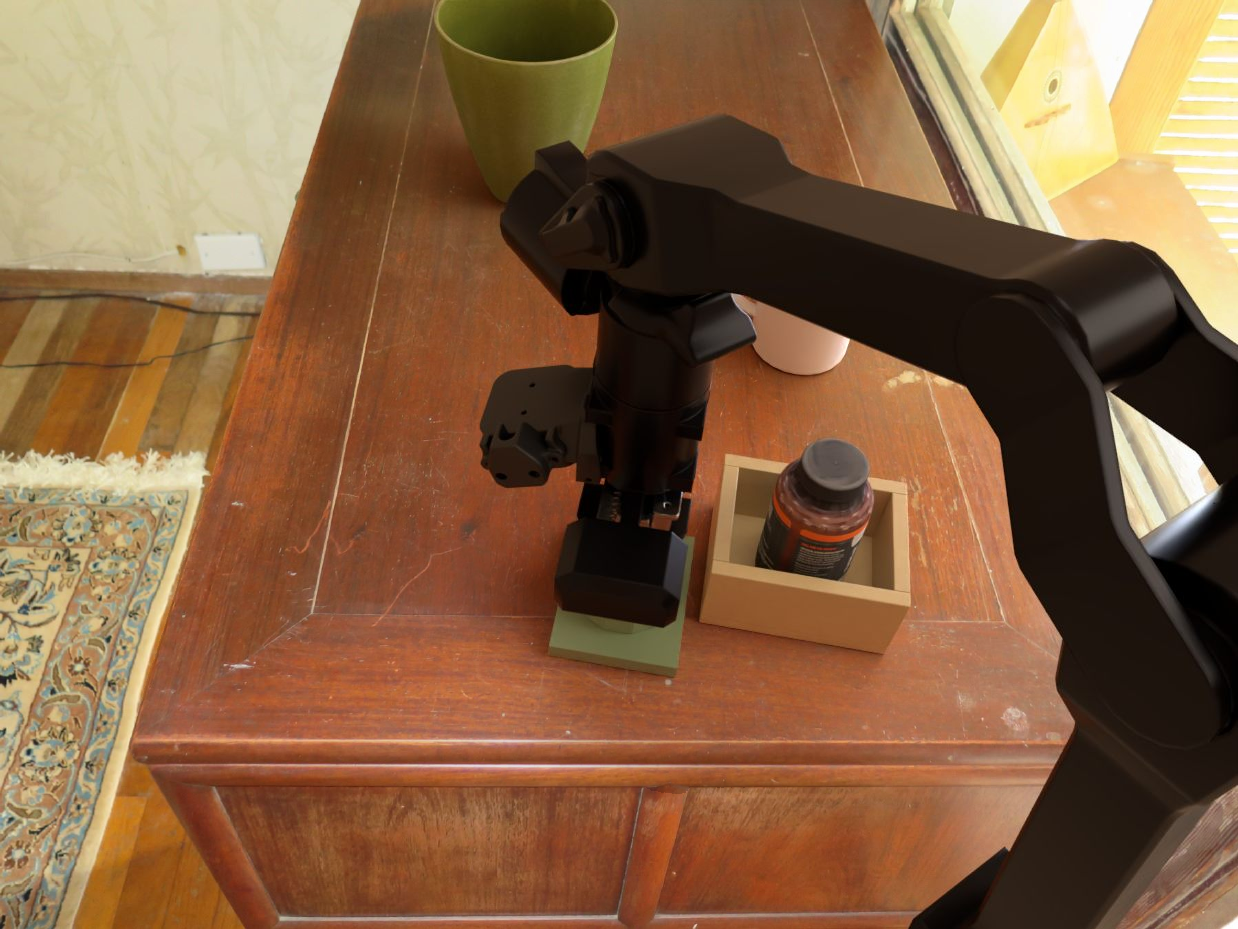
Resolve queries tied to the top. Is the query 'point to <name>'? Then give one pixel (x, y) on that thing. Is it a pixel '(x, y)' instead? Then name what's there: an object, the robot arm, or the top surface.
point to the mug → (792, 340)
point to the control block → (622, 637)
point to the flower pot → (524, 77)
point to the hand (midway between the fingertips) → (630, 550)
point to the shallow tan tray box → (799, 603)
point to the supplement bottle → (818, 512)
